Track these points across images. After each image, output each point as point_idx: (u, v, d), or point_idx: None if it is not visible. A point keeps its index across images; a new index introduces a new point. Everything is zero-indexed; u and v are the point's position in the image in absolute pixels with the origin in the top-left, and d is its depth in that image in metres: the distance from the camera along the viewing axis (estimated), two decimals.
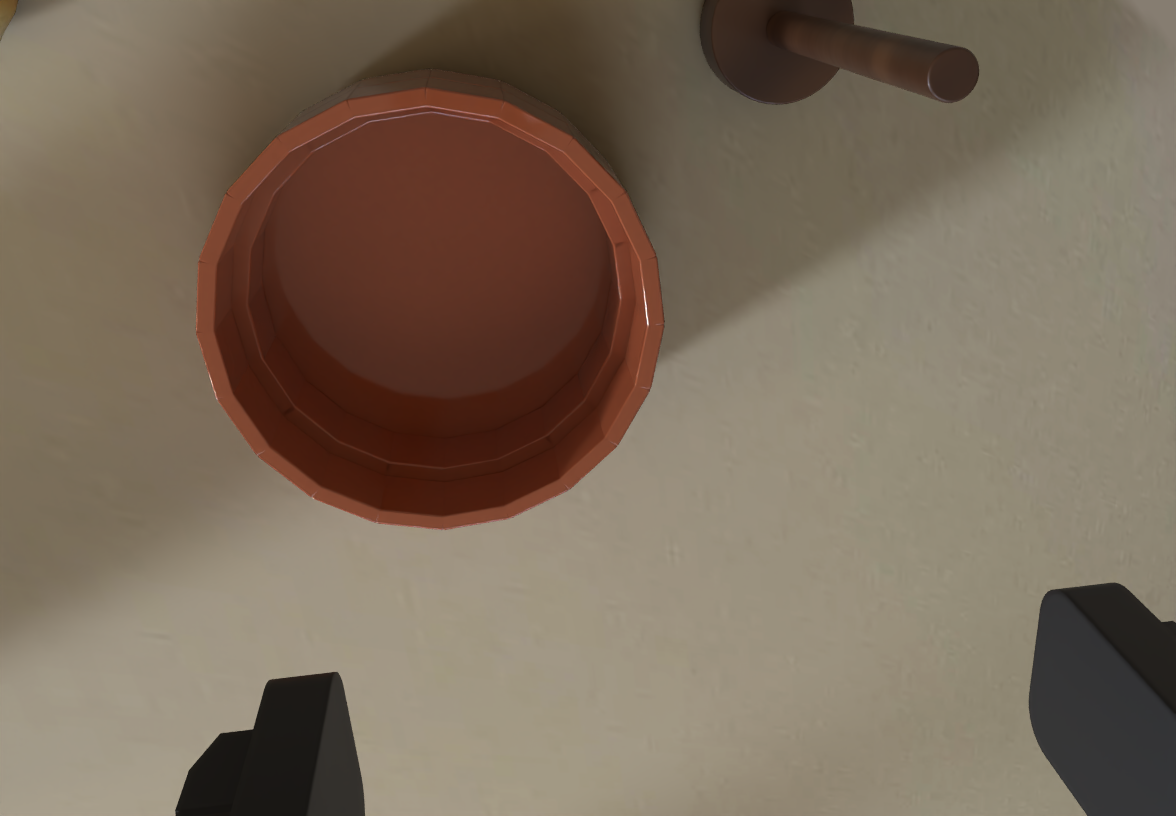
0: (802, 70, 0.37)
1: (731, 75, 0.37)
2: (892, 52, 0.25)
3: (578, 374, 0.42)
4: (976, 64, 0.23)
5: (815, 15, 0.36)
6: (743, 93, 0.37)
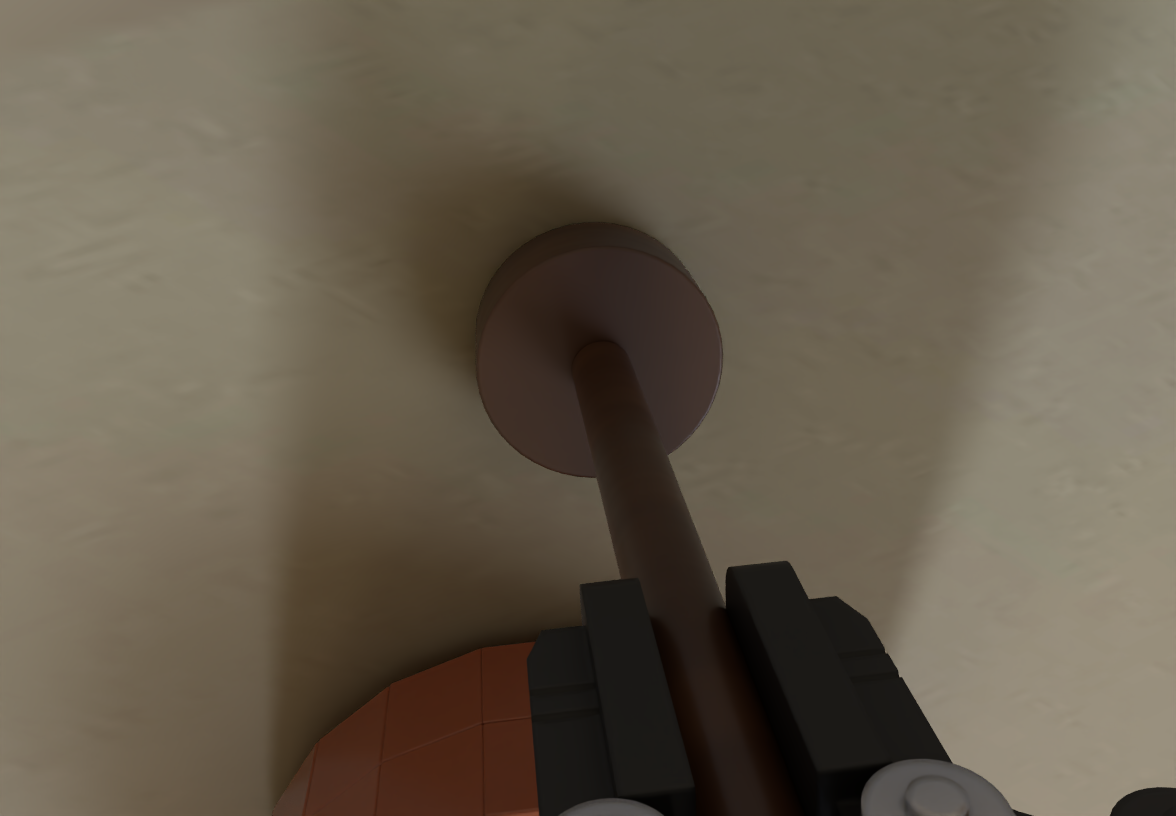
0: (676, 377, 0.21)
1: None
2: None
3: None
4: None
5: (620, 314, 0.21)
6: None
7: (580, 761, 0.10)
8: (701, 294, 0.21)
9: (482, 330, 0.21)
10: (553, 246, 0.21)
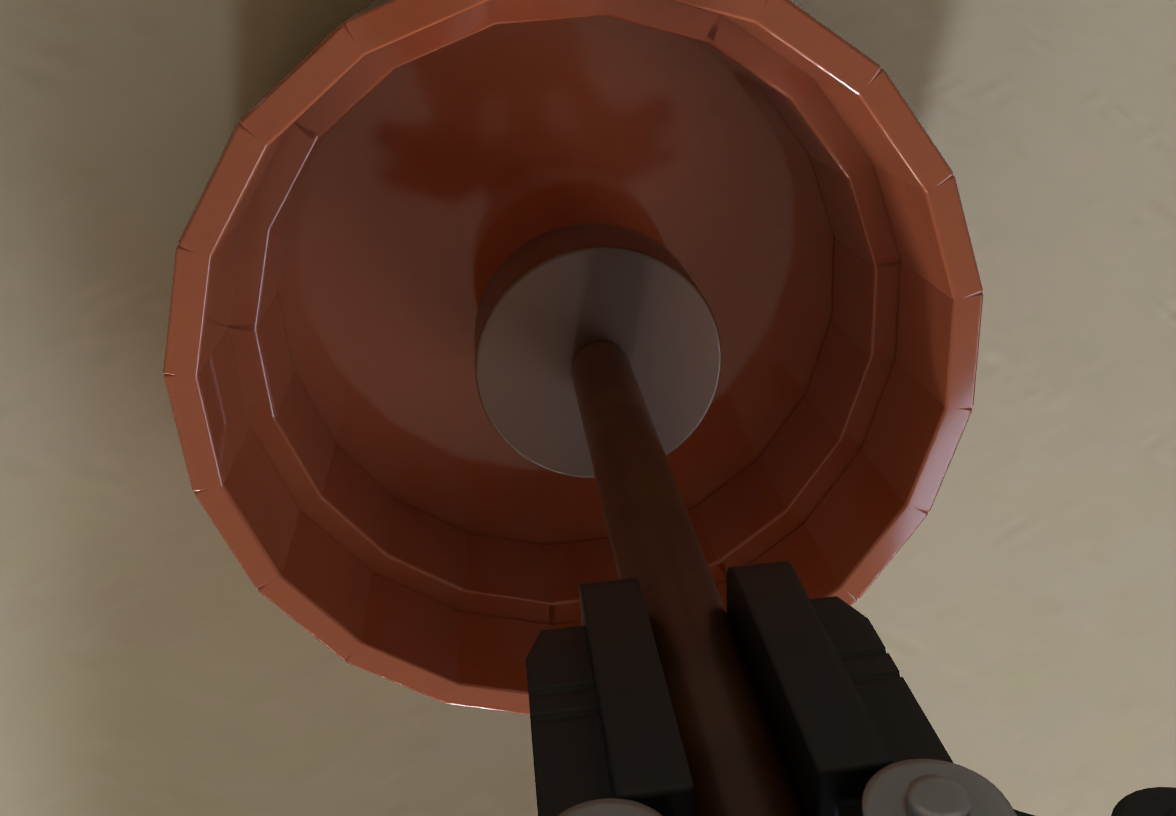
0: (675, 378, 0.21)
1: None
2: None
3: (837, 236, 0.25)
4: None
5: (618, 314, 0.21)
6: None
7: (579, 761, 0.10)
8: (700, 294, 0.21)
9: (481, 330, 0.21)
10: (551, 247, 0.21)
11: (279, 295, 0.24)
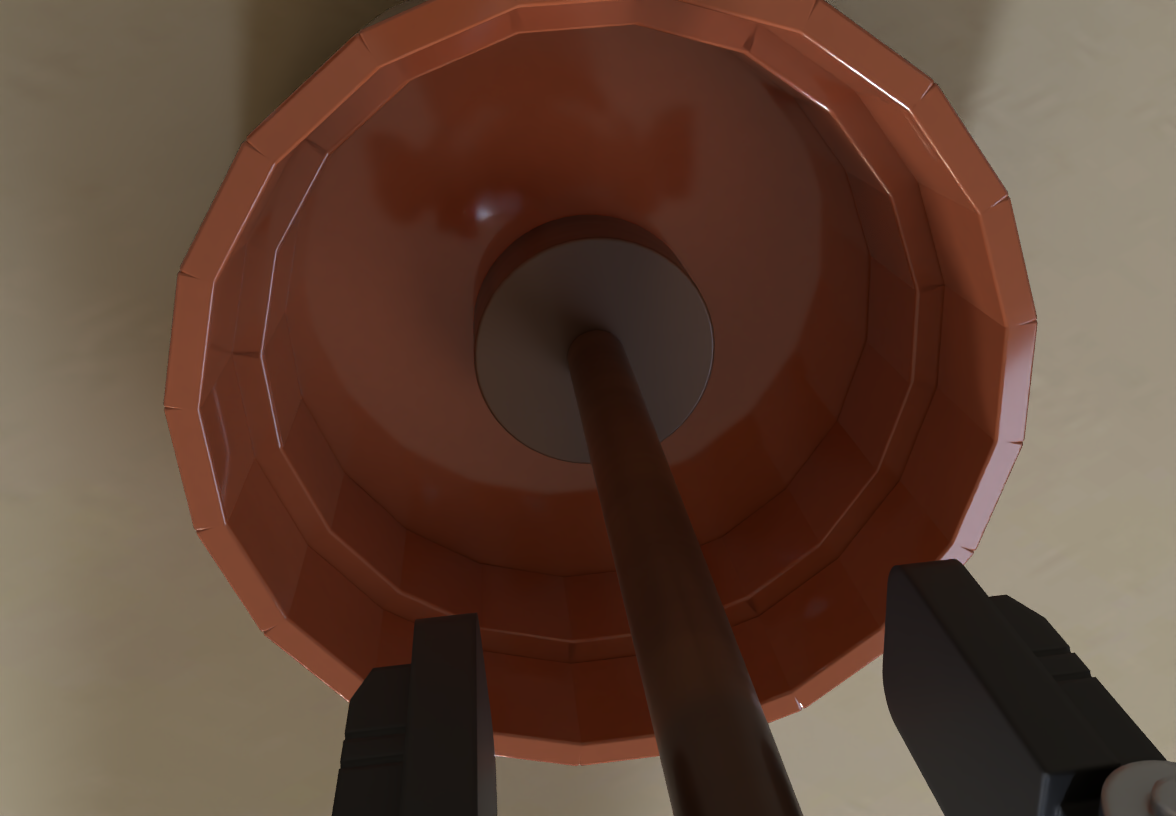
0: (669, 366, 0.22)
1: None
2: (662, 764, 0.11)
3: (873, 256, 0.23)
4: None
5: (614, 304, 0.21)
6: None
7: (379, 812, 0.10)
8: (693, 284, 0.21)
9: (479, 319, 0.21)
10: (548, 237, 0.21)
11: (286, 317, 0.23)
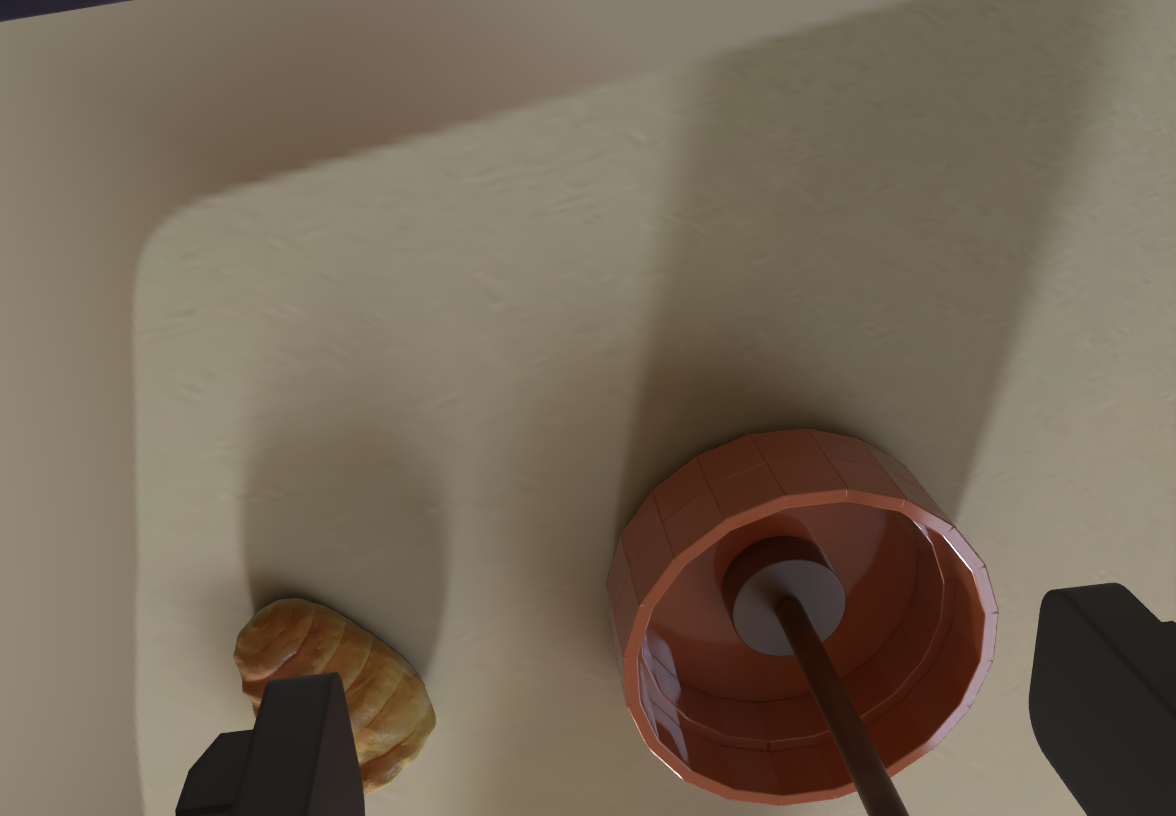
0: (823, 612, 0.46)
1: (785, 652, 0.46)
2: None
3: (920, 551, 0.47)
4: None
5: (799, 586, 0.45)
6: None
7: None
8: (837, 577, 0.45)
9: (736, 594, 0.45)
10: (768, 555, 0.45)
11: None
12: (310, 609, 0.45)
